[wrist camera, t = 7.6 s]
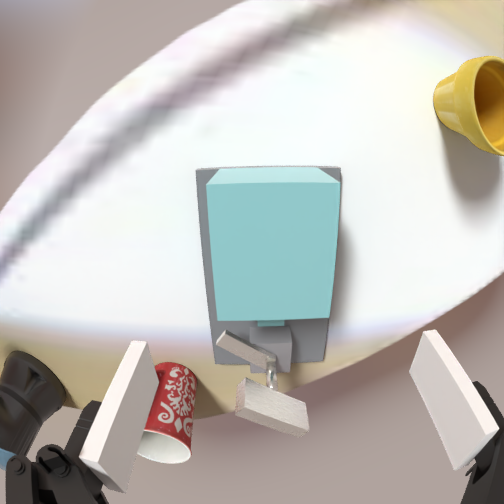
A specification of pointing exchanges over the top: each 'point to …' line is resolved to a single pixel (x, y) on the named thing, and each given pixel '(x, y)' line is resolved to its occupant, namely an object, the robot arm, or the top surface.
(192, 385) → the mug
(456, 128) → the plant pot
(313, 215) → the cover
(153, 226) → the top surface
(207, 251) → the housing
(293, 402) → the grey flat angled piece
